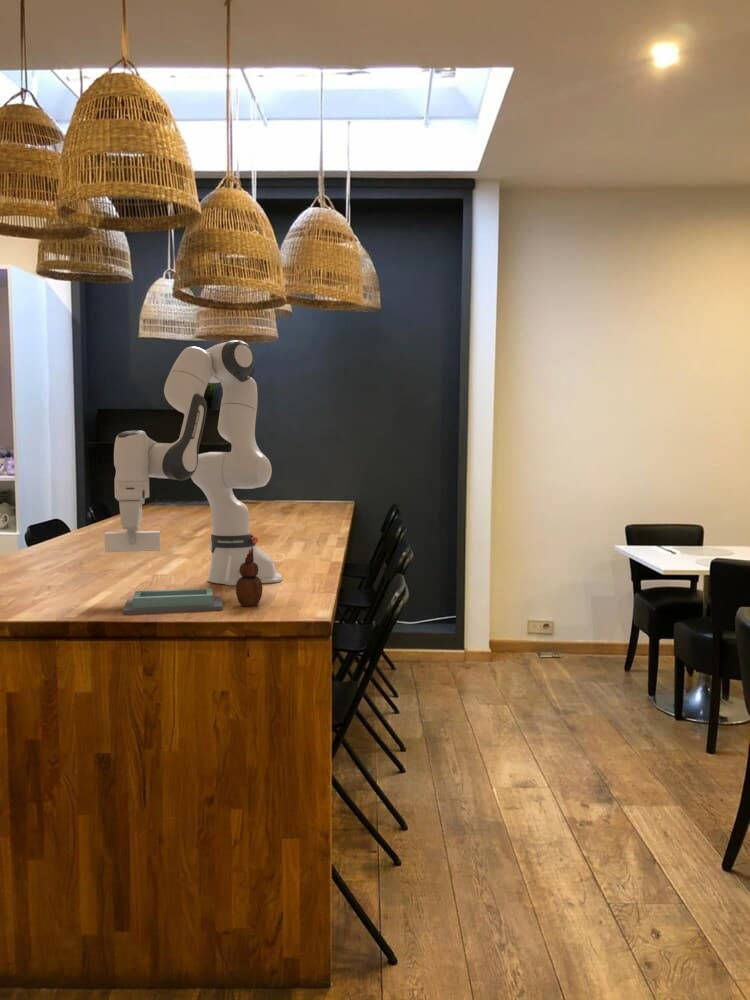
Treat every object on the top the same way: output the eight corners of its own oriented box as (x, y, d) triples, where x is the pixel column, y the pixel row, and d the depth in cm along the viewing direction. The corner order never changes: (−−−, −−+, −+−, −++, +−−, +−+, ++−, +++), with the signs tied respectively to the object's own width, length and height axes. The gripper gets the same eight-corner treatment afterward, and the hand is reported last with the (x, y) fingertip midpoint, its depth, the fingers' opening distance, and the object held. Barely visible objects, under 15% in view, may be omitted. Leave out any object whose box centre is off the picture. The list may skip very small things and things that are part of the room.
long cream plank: (160, 548, 208) (160, 530, 207) (160, 550, 204) (159, 532, 204) (106, 550, 204) (105, 532, 204) (105, 552, 201) (104, 533, 200)
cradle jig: (220, 599, 204) (220, 586, 204) (222, 610, 192) (222, 596, 192) (127, 603, 199) (127, 589, 199) (122, 614, 186) (122, 600, 186)
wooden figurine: (251, 601, 202) (251, 545, 201) (266, 604, 199) (266, 547, 197) (231, 605, 197) (231, 548, 196) (246, 608, 193) (246, 550, 192)
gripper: (123, 488, 212) (124, 537, 213) (115, 494, 192) (116, 548, 194) (146, 488, 214) (147, 537, 215) (141, 493, 194) (142, 547, 195)
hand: (133, 542), depth 204 cm, fingers closed on long cream plank, 4 cm apart
